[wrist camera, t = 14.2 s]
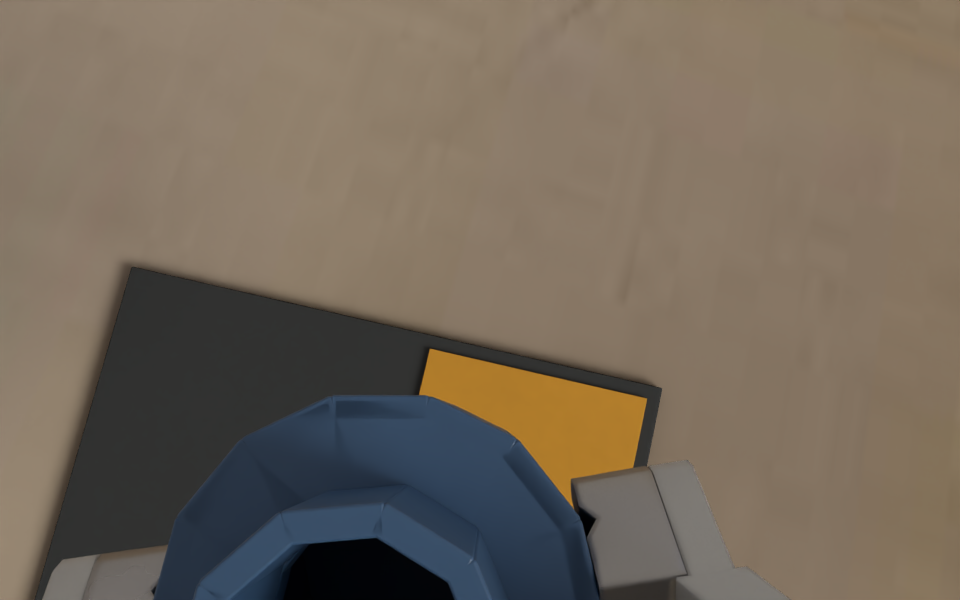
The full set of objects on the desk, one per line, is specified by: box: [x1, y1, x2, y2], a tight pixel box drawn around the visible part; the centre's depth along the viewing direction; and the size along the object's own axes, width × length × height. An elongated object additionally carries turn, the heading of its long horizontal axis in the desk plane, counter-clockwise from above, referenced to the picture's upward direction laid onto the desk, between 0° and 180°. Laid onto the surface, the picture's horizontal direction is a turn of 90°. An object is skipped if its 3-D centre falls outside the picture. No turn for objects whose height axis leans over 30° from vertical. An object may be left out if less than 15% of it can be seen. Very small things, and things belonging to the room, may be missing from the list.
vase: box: [153, 395, 600, 600], centre depth 11 cm, size 5×5×8 cm
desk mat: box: [35, 267, 662, 600], centre depth 30 cm, size 20×13×1 cm, turn 77°
